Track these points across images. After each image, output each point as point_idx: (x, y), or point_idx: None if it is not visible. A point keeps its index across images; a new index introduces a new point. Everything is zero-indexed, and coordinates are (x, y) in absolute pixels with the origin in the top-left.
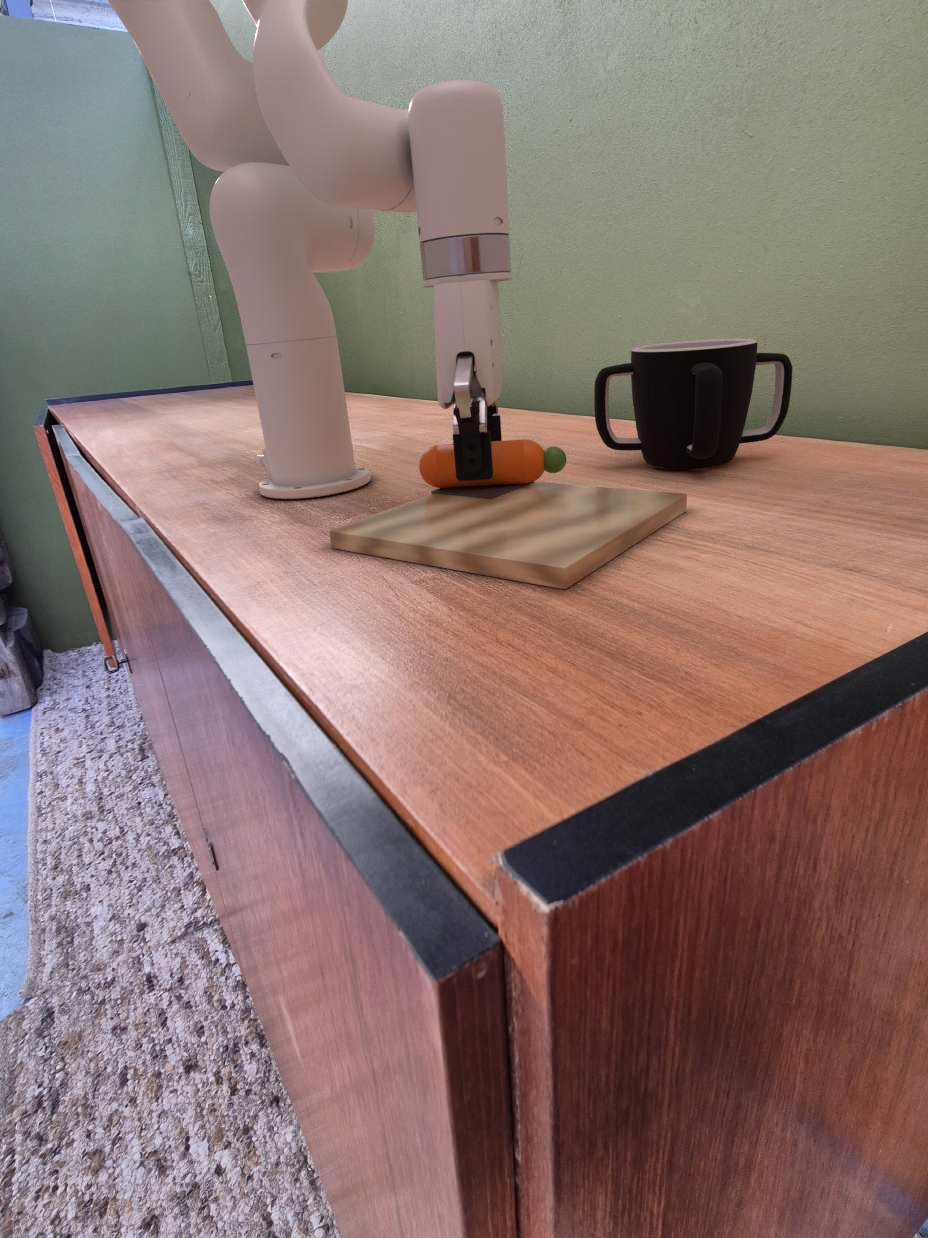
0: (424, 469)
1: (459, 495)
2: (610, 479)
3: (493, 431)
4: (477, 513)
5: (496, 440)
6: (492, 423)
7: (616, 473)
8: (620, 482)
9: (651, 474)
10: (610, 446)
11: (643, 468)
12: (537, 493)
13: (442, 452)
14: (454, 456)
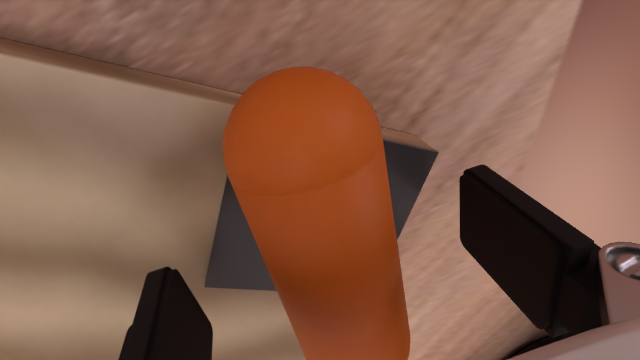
0: (226, 125)
1: (220, 204)
2: (469, 322)
3: (508, 282)
4: (71, 311)
5: (488, 267)
6: (528, 302)
7: (508, 315)
8: (446, 339)
9: (486, 354)
10: (567, 336)
11: (528, 334)
12: (267, 335)
13: (265, 216)
14: (131, 329)
